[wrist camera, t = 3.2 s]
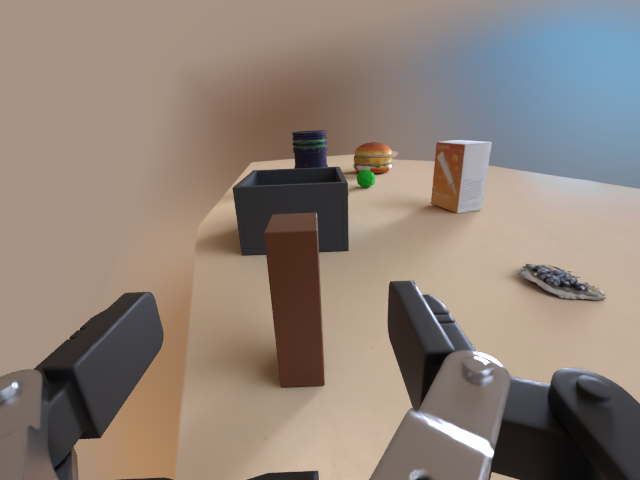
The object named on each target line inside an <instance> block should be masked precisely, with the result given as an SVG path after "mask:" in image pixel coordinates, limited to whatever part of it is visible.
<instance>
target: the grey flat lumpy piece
mask: <svg viewBox="0 0 640 480" xmlns="http://www.w3.org/2000/svg"><path fill="white" fill-rule="evenodd" d="M526 266H527V267H526ZM526 266H523V268H524V271H522V270H521V271H517V272H519V273H518V274H522V275H523V277H525V278H526V279H528V280H531V281H532V282H536V283H537V284H539V285H537V286H541V287H543V289H544V290H546V291H548V292H551V293H554V294H555V295H558V296H559V297H561V298H570V299H576V298H577V297H578V298H582V299H583V300H584V299H589V300H590V299H593V300H600V299H601V300H603V299H605V297H604V296H605V294H603V293H602V291H601V290H600V289H599V288H595V286H590V285H589V284H588V283H583V282H579V281H578V280H577V278H581V277H577V276H576V277H575V276H572V275H571V274H570V273H571V271H568V272H565V271H564V270H561V269H560V268H557V267H554V266H553V267H552V266H549V265H537V266H536V265H530V264H526ZM545 284H546V285H545Z"/></svg>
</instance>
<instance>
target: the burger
mask: <svg viewBox="0 0 640 480" xmlns="http://www.w3.org/2000/svg"><path fill="white" fill-rule="evenodd" d="M354 154H355V156H354V163H355V164H354V165H353V167H354V168H355V169H356V171H357V172H360V171H362V170H364V169H368V170H370V171H371V172H373V173H383V172H387V171H389V169H391V167H392V163H390V161H391V159H392V156H391V150H390V148H389V147H388V146H386V145H384V144H381V143H376V142H372V143H366V144H363V145H361V146H360V147H358V148H357V149H356V151H355V153H354Z"/></svg>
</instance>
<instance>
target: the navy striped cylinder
mask: <svg viewBox="0 0 640 480" xmlns="http://www.w3.org/2000/svg"><path fill="white" fill-rule="evenodd" d="M292 134H293V141H295V142H293V146H296V147H293V151H294V153H295V169H299V168H322V167H328V165H327V162H326V151H327V146H326V144H327V140H325V139H327V138H326V131H301V132H293V133H292Z"/></svg>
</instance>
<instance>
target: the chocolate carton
mask: <svg viewBox="0 0 640 480" xmlns="http://www.w3.org/2000/svg"><path fill="white" fill-rule="evenodd" d="M264 237H265V246H266V255H267V264H268V273H269V283H270V292H271V301H272V310H273V319H274V329H275V338H276V347H277V356H278V365H279V375H280V384H281V387H303V386H324V356H323V333H322V311H321V289H320V268H319V246H318V224H317V213H296V214H273V215H272V217H271V219H270V221H269V224H268V226H267V228H266V230H265V233H264Z"/></svg>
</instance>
